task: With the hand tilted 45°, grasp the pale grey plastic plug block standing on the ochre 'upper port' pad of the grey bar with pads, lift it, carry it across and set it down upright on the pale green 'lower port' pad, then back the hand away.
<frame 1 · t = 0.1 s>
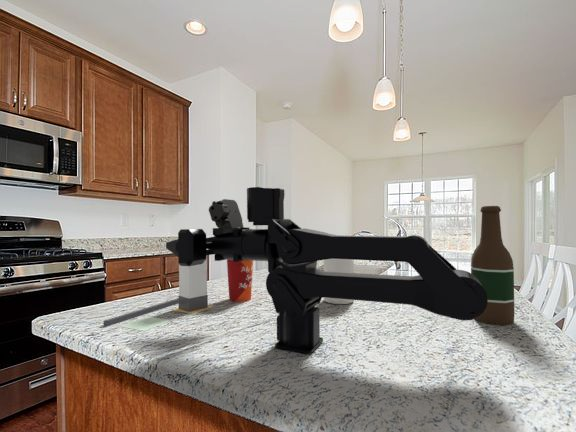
hand: (183, 243, 66), 17 cm above the worktop, tool horizontal, fingers open, 9 cm apart
paper cup: (240, 301, 86), on the worktop
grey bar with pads: (171, 317, 71), on the worktop
plug: (193, 307, 77), resting on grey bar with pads
pill bottle: (338, 301, 85), on the worktop
beer bottle: (492, 320, 68), on the worktop
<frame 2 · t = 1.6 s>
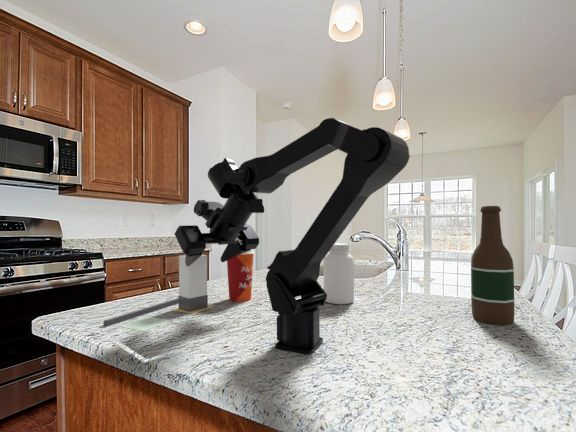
hand: (204, 262, 74), 12 cm above the worktop, tool tilted 45°, fingers open, 9 cm apart
nothing on the worktop moved.
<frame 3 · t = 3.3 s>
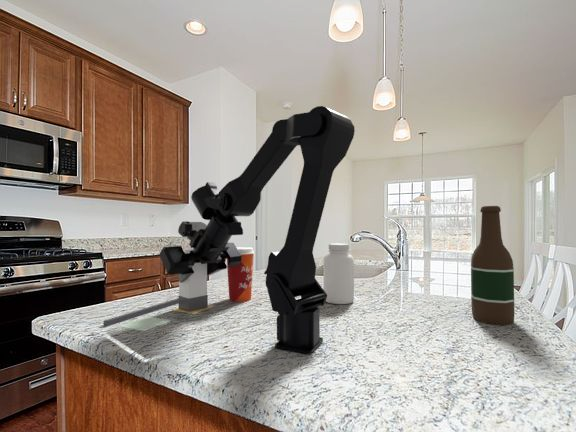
hand: (190, 279, 78), 7 cm above the worktop, tool tilted 45°, fingers closed on plug, 5 cm apart
plug: (193, 307, 77), resting on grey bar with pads, touching gripper
everything else where it was.
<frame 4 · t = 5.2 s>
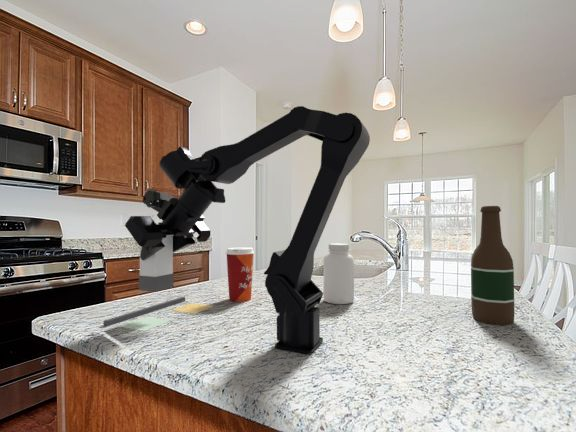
hand: (151, 257, 69), 13 cm above the worktop, tool tilted 45°, fingers closed on plug, 5 cm apart
plug: (156, 288, 69), point 7 cm above the worktop, touching gripper
everything else where it was.
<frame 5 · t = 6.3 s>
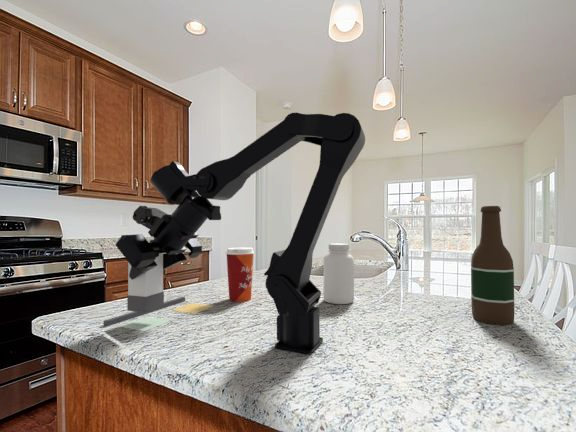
hand: (140, 275, 66), 10 cm above the worktop, tool tilted 45°, fingers closed on plug, 5 cm apart
plug: (146, 308, 66), point 4 cm above the worktop, touching gripper
everything else where it was.
when the fingers open (8 cm above the worktop, at t = 7.1 s): plug stays where it is, resting on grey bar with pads.
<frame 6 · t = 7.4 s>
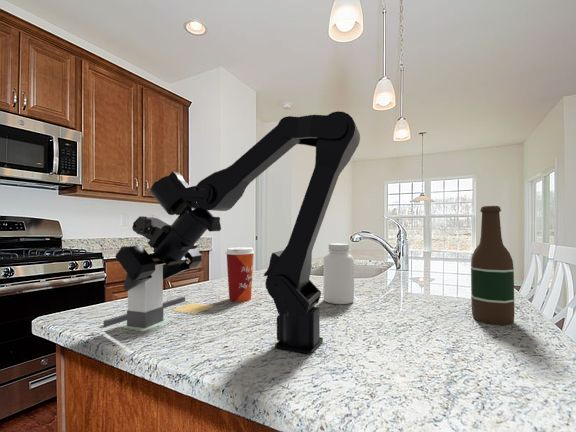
hand: (140, 285, 66), 8 cm above the worktop, tool tilted 45°, fingers open, 7 cm apart
plug: (145, 323, 66), resting on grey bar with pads
everything else where it was.
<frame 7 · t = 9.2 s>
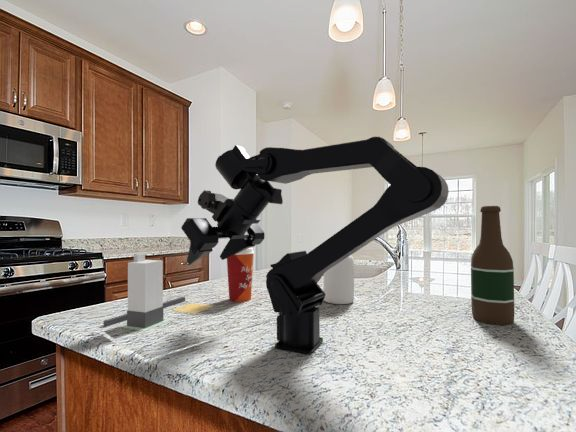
hand: (205, 260, 67), 13 cm above the worktop, tool tilted 45°, fingers open, 9 cm apart
nothing on the worktop moved.
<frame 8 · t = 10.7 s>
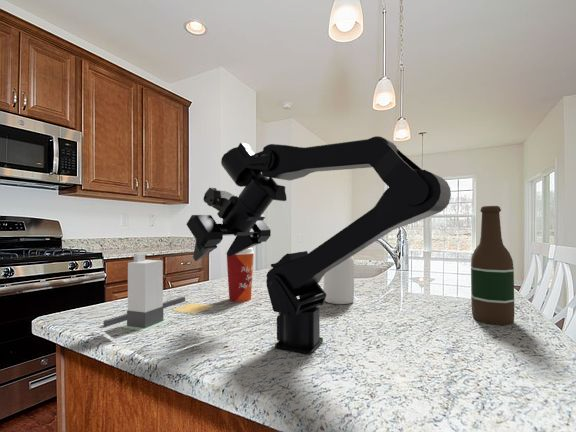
hand: (212, 257, 68), 14 cm above the worktop, tool tilted 45°, fingers open, 9 cm apart
nothing on the worktop moved.
at the end: plug inside the target area on the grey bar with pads (0.0 cm from its centre), point 0.5 cm above the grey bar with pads's base; plug tilted 0°; the gripper is holding nothing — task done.
